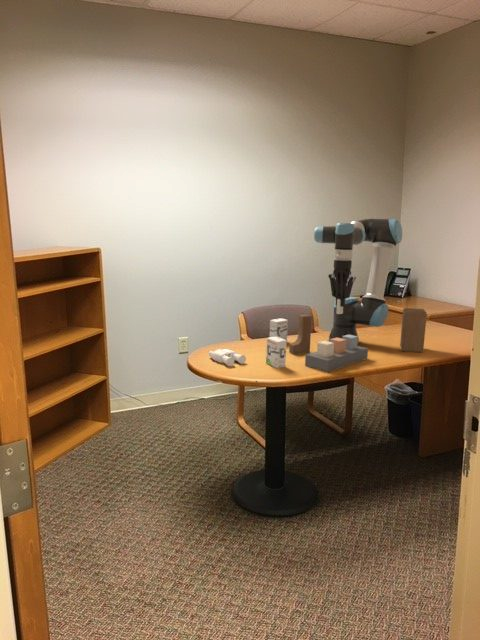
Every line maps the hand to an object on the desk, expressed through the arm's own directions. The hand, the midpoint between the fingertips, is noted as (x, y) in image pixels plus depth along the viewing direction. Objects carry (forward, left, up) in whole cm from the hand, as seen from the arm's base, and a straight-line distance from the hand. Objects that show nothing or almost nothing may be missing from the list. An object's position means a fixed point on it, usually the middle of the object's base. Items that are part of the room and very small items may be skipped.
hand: (339, 313), depth 223 cm
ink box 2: (-15, -24, -23) cm, 36 cm away
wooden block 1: (-21, -1, -23) cm, 31 cm away
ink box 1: (-41, +6, -23) cm, 47 cm away
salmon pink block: (0, 0, -19) cm, 19 cm away
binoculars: (-34, -36, -23) cm, 55 cm away
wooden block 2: (+11, +46, -23) cm, 53 cm away
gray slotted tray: (0, 0, -22) cm, 22 cm away
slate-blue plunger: (0, +9, -19) cm, 21 cm away
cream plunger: (0, -9, -19) cm, 21 cm away
